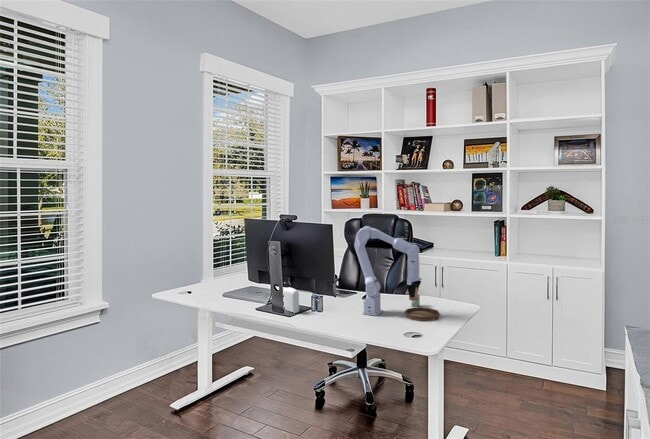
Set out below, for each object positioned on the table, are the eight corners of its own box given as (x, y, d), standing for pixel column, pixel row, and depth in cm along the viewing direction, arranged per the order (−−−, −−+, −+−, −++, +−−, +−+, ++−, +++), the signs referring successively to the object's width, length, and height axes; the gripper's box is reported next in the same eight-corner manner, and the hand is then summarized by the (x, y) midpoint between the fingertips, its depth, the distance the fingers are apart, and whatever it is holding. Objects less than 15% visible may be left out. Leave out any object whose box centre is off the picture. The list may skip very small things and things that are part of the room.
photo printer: (282, 309, 243) (281, 286, 242) (289, 308, 246) (288, 285, 245) (293, 314, 235) (293, 290, 234) (300, 312, 238) (299, 288, 237)
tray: (434, 322, 216) (434, 318, 216) (400, 318, 224) (400, 314, 224) (442, 313, 230) (442, 309, 230) (410, 309, 238) (410, 306, 238)
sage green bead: (418, 307, 242) (418, 296, 242) (410, 306, 244) (410, 295, 244) (420, 305, 246) (420, 294, 245) (412, 304, 248) (412, 293, 247)
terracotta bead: (415, 300, 226) (415, 288, 225) (407, 299, 228) (407, 288, 228) (418, 298, 229) (418, 287, 229) (410, 297, 232) (410, 286, 231)
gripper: (417, 272, 219) (417, 300, 220) (425, 267, 232) (425, 293, 233) (402, 271, 222) (403, 299, 224) (411, 266, 235) (411, 292, 236)
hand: (413, 296), depth 229 cm, fingers closed on terracotta bead, 4 cm apart
